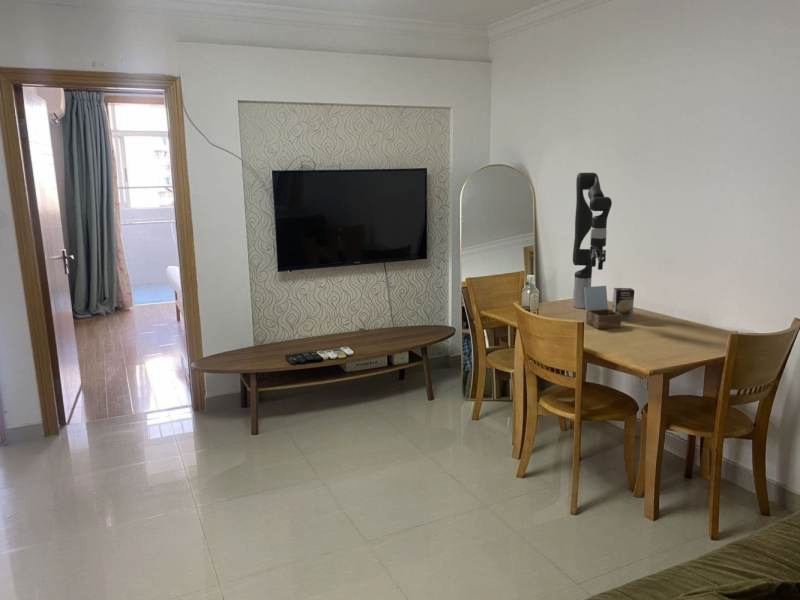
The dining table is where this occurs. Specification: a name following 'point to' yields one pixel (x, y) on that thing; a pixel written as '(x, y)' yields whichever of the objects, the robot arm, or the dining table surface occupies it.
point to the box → (603, 319)
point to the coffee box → (623, 302)
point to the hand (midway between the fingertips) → (596, 268)
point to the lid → (595, 298)
